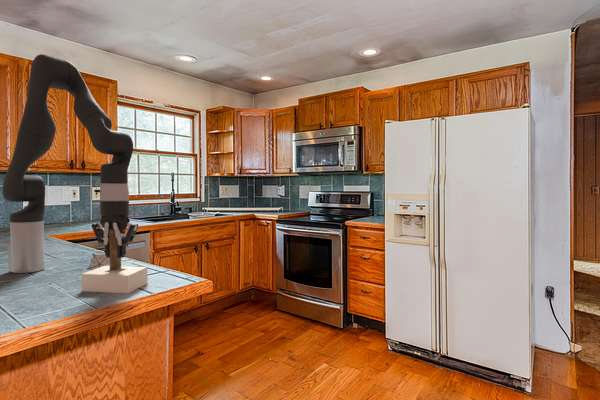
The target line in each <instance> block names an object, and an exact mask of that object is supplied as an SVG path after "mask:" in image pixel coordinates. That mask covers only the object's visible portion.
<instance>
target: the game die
mask: <svg viewBox="0 0 600 400" xmlns="http://www.w3.org/2000/svg"><path fill="white" fill-rule="evenodd" d="M91 254H92V256H93V257H92V259H91V260H90V264H89V266H88V267H87V268H86V270H87V271H88V270H89V271H91V270H94V269H97V268H100V267H102V266H110V258H107V257H106V255H105V250H104V251H103V252H102V253H98V254H95V253H91Z"/></svg>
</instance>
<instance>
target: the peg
mask: <svg viewBox="0 0 600 400" xmlns="http://www.w3.org/2000/svg"><path fill="white" fill-rule="evenodd" d="M120 234H121V233H120ZM118 246H119V245H118V240H117V238H116V236H115V230H112V229H110V230H109V252H110V270H111V271H116V270H120V269H121V266H122V258H118Z"/></svg>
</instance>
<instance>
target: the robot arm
mask: <svg viewBox="0 0 600 400" xmlns="http://www.w3.org/2000/svg"><path fill="white" fill-rule="evenodd" d="M27 87H28V88H27V95H26V99H25V104H24V105H25V106H24V108H23V109H24V110H23V113H22V117H21V121H20V123H19V128H18V131H17V137H16V141H15V145H14V150H13V154H12V158H11V160H10V163H9V166H8V168H7V171H6V173H5V177H4V179H3V183H2V186H1V187H2V190H1V191H2V193H1V194H2V197H3V199H4V200H6V201H7V202H11V203H25V202H26V203H28V204H27V205H26V206H25V207H24V208H22V209H20V210H16V211H15V212H12V213H10V215H9V231H10V232H9V233H10V235H9V236H10V238H9V239H10V243H8V244H7V257H8V265H7V266H8V272H11V273H13V274H27V273H35V272H38V271H42V270H44V269H45V268H46V267H45V264H46V263H45V224H44V223H45V221H44V216H45V210H46V208H45V207H46V204H45V203H46V183H45V180H44V178H43V177H42V176H41V175H36V174H35V175H34V174H33V175H32V174H30V175H29V174H26V173H27V171H28V170H29V168H30V167H31V166H33V164H34V163H36V161H38V160H39V159H40V158H42V157H43V156H44V155H45V154H47V153H48V152H49V150H50V149H51V148H52V145H53V143H54V140H55V137H56V136H55V135H56V132H57V127H56V123H55V120H54V118H53V116H52V113H51V110H50V109H49V107H48V100H47V99H48V93H49V90H50V88H51V89H56V90H61V91H66V92H67V93H69V94H70V95H71V96H72V97H73V98H74V101H73V110H74V111H73V112H74V114H75V116H76V118H77V120H78V121H79V122H80V123H81V125H83V126H84V128H85V129H86V130H87V134H88V136H89V140H90V142H91V145H92V146H93V148H94V149H95V150H96V151H98V152H99V153H100V154H104V155H112V158H111V161H110V162H106V163H103V164H102V165H101V166H100V187H99V214H100V216H101V218H100V220H99V221H98V222H96V223H92V224H91V228H92V231H93V233H94V236H95V237H96V239H97V243H98V244H103V245H104V251H105V255H106V257H107V258H110V252H109V230H110V229H112V230H115V236H116V238H117V240H118V245H119V246H118V258H121V259H123V258H125V256H126V254H127V251H126V250H127V248H126V247H127V244H129V243H133V240H134V238H135V236H136V233H137V231H138V228H139V224H138V223H133V222H131V220H130V218H129V215H130V191H129V183H128V182H129V181H128V180H129V179H128V177H129V175H128V169H129V166H130V163H131V159H132V155H133V153H134V142H133V139H132V136H130V135H129V134H128V133H126V132H123V131H118V130H112V127H113V123H112V120H111V118H110V117H109V115H107V113H106V112H105V111H104V109H103V108H101V106H100V105H99V104H98V102H97V101H96V100H95V98H94V96H93V95H92V93H91V91H90V89H89V87H88V86H87V84H86V82H85V80H84V78H83V76H82V75H81V73H80V71H79V70H78V68H77V67H76V65H74V63H72V62H71V61H69V60H65V59H63V58H59V57H54V56H50V55H47V54H42V53H41V54H37V55H36V56H35V57H34V58H33V60H32V63H31V66H30V72H29V79H28V86H27ZM120 233H121V234H120Z"/></svg>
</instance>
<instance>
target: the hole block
mask: <svg viewBox="0 0 600 400" xmlns="http://www.w3.org/2000/svg"><path fill="white" fill-rule="evenodd" d="M148 281H149V280H148V266H124V265H121V269H120V270H116V271H111V270H110V266H102V267H100V268H97V269H94V270H89V271H88V270H87V271H86V272H82V273H81V292H92V293H114V294H116V293H117V294H130V293H131V292H133V291H135V290H138V289H139V288H141V287H143V286H144V285H147V284H148Z"/></svg>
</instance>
